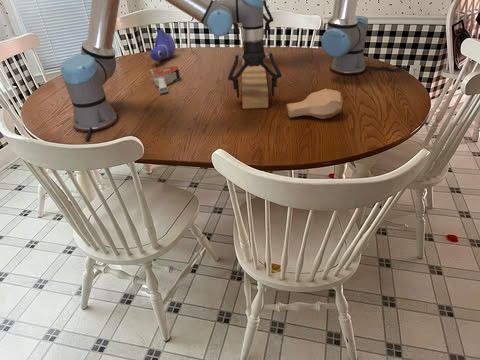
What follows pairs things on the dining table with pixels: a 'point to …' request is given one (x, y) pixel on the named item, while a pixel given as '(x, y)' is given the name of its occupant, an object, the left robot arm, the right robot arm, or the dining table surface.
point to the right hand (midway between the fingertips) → (252, 38)
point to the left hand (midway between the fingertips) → (255, 95)
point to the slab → (254, 87)
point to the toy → (162, 46)
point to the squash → (317, 105)
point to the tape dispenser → (164, 77)
